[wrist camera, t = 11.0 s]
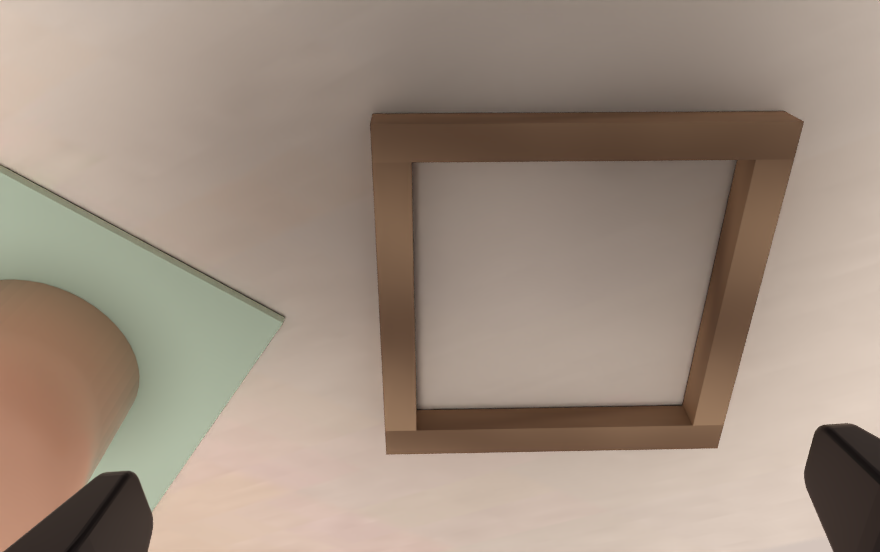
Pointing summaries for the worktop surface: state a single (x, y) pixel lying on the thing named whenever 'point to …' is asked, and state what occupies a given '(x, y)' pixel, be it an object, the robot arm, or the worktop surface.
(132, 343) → the sage mat
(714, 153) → the walnut collar
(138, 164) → the worktop surface
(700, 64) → the worktop surface
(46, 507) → the peach round cylinder
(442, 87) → the worktop surface
